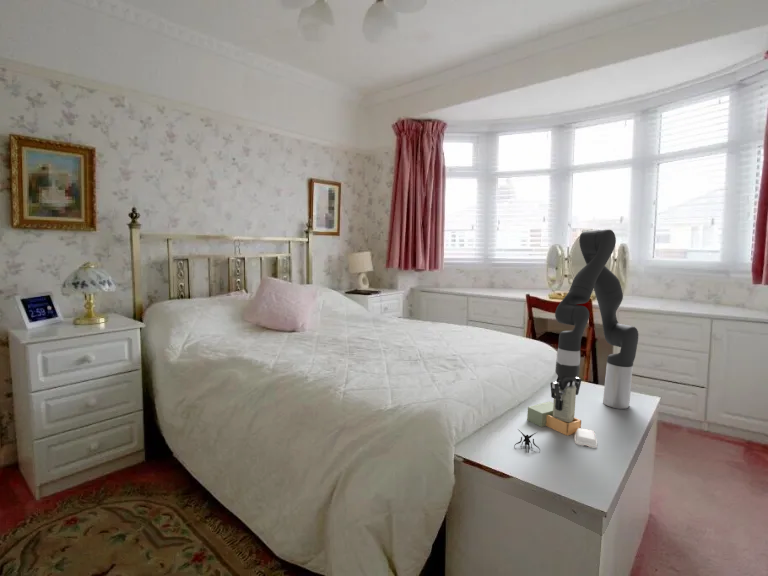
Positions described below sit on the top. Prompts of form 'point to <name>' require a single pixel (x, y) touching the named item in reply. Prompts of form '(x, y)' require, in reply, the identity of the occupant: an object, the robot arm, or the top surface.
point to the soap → (585, 438)
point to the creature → (527, 441)
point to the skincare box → (566, 406)
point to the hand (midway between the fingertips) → (563, 408)
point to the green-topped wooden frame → (551, 419)
